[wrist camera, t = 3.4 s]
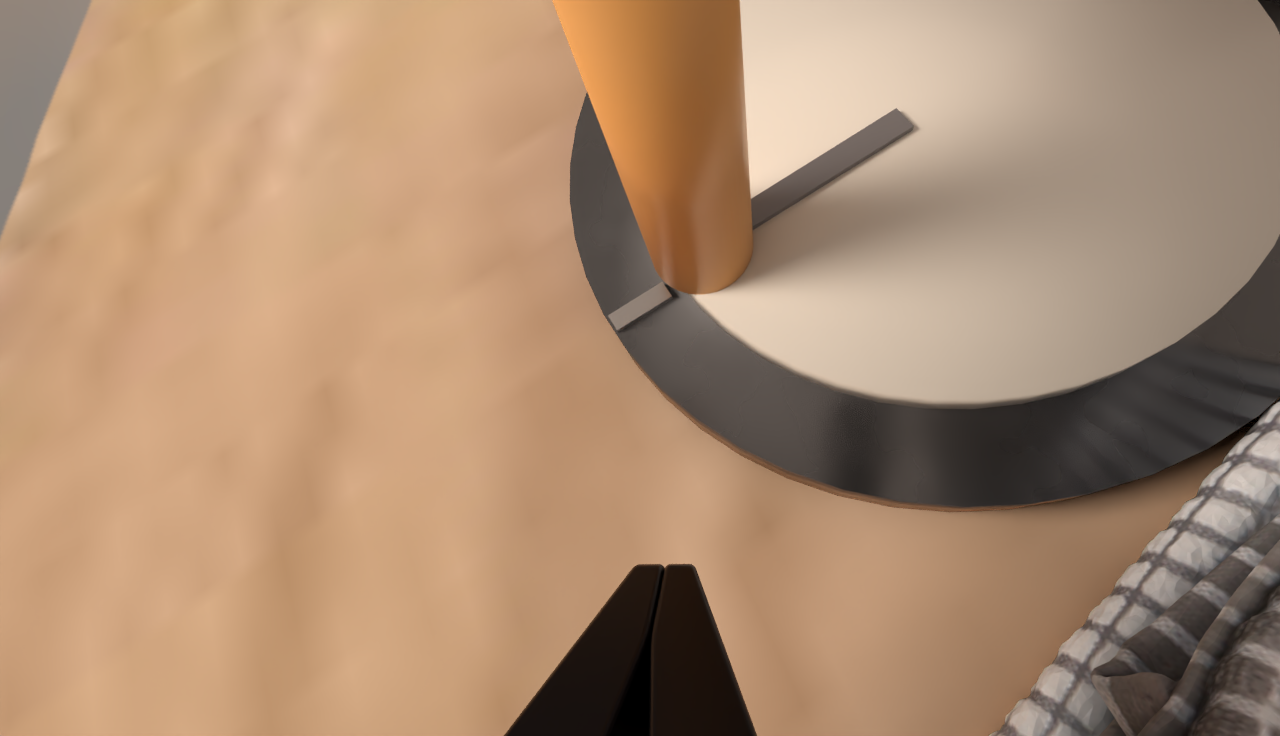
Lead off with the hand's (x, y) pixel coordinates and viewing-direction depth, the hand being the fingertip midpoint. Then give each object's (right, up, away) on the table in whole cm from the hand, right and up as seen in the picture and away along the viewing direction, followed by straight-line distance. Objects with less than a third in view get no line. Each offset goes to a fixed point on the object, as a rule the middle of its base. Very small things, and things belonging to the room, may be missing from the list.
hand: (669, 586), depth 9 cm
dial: (+8, +10, +11) cm, 17 cm away
